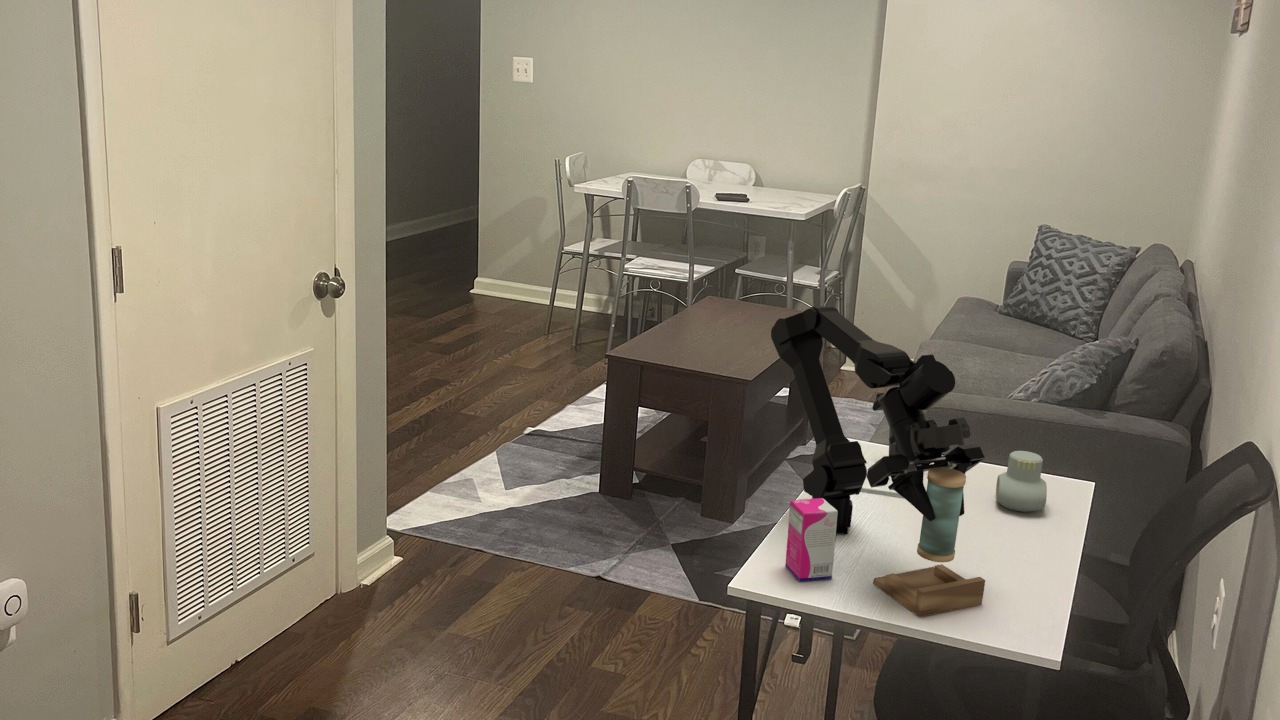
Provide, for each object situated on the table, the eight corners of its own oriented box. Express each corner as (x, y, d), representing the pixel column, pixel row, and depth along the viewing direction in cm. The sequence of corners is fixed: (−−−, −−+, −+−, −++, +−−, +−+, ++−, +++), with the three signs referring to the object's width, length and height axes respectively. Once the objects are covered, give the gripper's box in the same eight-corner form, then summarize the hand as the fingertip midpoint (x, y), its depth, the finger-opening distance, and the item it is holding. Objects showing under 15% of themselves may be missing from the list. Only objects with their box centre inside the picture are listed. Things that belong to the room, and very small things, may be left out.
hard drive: (922, 480, 213) (857, 470, 216) (920, 495, 206) (852, 485, 209) (921, 488, 214) (856, 478, 217) (919, 503, 206) (852, 493, 209)
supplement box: (817, 563, 178) (824, 496, 175) (832, 579, 172) (839, 511, 169) (783, 565, 176) (789, 498, 173) (798, 582, 171) (804, 513, 168)
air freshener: (1044, 520, 200) (1052, 468, 197) (996, 513, 202) (1004, 462, 199) (1039, 499, 210) (1047, 449, 207) (994, 492, 212) (1001, 443, 209)
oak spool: (913, 556, 166) (924, 476, 163) (921, 543, 171) (932, 464, 168) (950, 565, 164) (962, 484, 160) (957, 551, 169) (969, 472, 165)
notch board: (872, 583, 172) (875, 560, 171) (933, 572, 177) (936, 549, 176) (919, 617, 162) (922, 592, 161) (981, 604, 167) (985, 580, 166)
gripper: (888, 405, 160) (928, 505, 154) (985, 394, 169) (1028, 488, 162) (849, 438, 169) (886, 534, 163) (943, 426, 178) (982, 516, 171)
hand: (947, 517), depth 165 cm, fingers closed on oak spool, 5 cm apart
